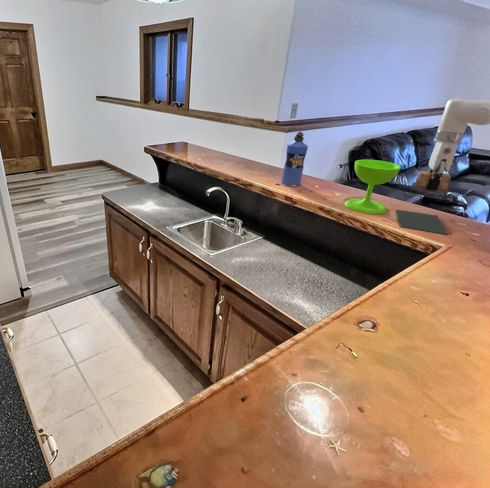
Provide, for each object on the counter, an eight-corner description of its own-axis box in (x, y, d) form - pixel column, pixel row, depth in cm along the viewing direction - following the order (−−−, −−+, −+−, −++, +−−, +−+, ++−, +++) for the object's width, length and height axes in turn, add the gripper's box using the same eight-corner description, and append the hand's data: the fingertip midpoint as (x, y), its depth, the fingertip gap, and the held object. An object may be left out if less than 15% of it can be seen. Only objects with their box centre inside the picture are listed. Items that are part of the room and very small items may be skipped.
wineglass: (375, 217, 136) (389, 171, 128) (336, 205, 148) (347, 162, 140) (393, 208, 145) (408, 165, 137) (356, 198, 156) (367, 158, 148)
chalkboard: (436, 217, 137) (437, 215, 136) (447, 237, 120) (448, 234, 120) (395, 211, 142) (395, 209, 142) (400, 229, 126) (401, 226, 125)
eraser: (443, 189, 129) (449, 173, 126) (446, 193, 125) (453, 177, 122) (412, 185, 133) (417, 170, 130) (414, 189, 128) (419, 173, 126)
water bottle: (278, 180, 180) (287, 130, 168) (297, 181, 179) (306, 130, 168) (283, 186, 171) (292, 133, 160) (302, 186, 171) (313, 134, 160)
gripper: (468, 142, 112) (447, 196, 120) (455, 134, 126) (437, 183, 134) (440, 140, 115) (421, 192, 123) (431, 132, 129) (414, 180, 137)
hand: (429, 187), depth 128 cm, fingers closed on eraser, 5 cm apart
